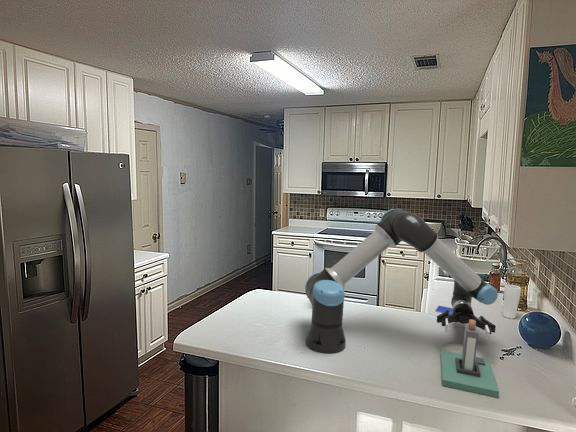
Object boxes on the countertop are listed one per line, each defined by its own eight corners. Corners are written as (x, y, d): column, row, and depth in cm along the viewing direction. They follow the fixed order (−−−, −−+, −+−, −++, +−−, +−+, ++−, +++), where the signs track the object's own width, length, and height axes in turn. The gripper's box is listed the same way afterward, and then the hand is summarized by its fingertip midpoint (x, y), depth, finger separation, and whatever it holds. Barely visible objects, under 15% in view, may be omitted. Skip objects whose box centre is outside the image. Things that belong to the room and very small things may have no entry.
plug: (460, 369, 135) (466, 317, 133) (471, 371, 134) (477, 318, 132) (461, 377, 130) (467, 322, 128) (473, 379, 129) (479, 324, 127)
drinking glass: (503, 318, 185) (507, 287, 183) (499, 313, 191) (502, 283, 189) (519, 320, 183) (523, 289, 181) (514, 315, 189) (518, 285, 187)
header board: (440, 355, 145) (441, 346, 145) (488, 364, 140) (489, 355, 140) (442, 385, 125) (443, 376, 124) (498, 397, 120) (499, 387, 119)
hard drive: (466, 310, 190) (439, 305, 196) (463, 316, 183) (435, 309, 189) (465, 314, 190) (438, 308, 196) (463, 319, 183) (435, 312, 189)
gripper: (495, 326, 157) (504, 348, 137) (429, 315, 165) (429, 334, 145) (498, 308, 156) (507, 328, 136) (431, 298, 164) (431, 315, 144)
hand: (467, 331), depth 141 cm, fingers open, 13 cm apart
